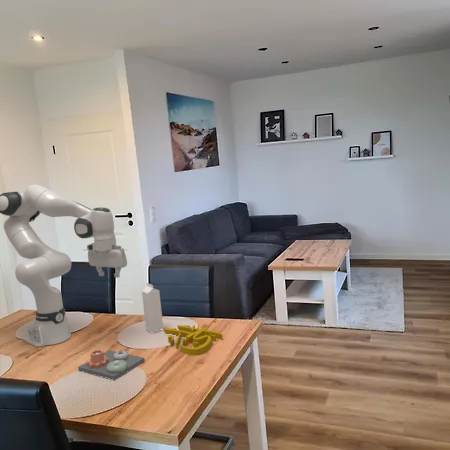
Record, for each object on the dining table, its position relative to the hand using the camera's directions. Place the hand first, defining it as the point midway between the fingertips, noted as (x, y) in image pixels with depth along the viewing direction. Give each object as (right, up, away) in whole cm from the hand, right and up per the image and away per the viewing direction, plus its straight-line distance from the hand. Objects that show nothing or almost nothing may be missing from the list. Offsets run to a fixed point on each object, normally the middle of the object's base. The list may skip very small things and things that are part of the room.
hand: (109, 276), depth 186 cm
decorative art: (+34, -28, -2) cm, 44 cm away
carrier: (+7, -32, -21) cm, 39 cm away
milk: (+18, -27, +13) cm, 34 cm away
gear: (+2, -31, -22) cm, 38 cm away
